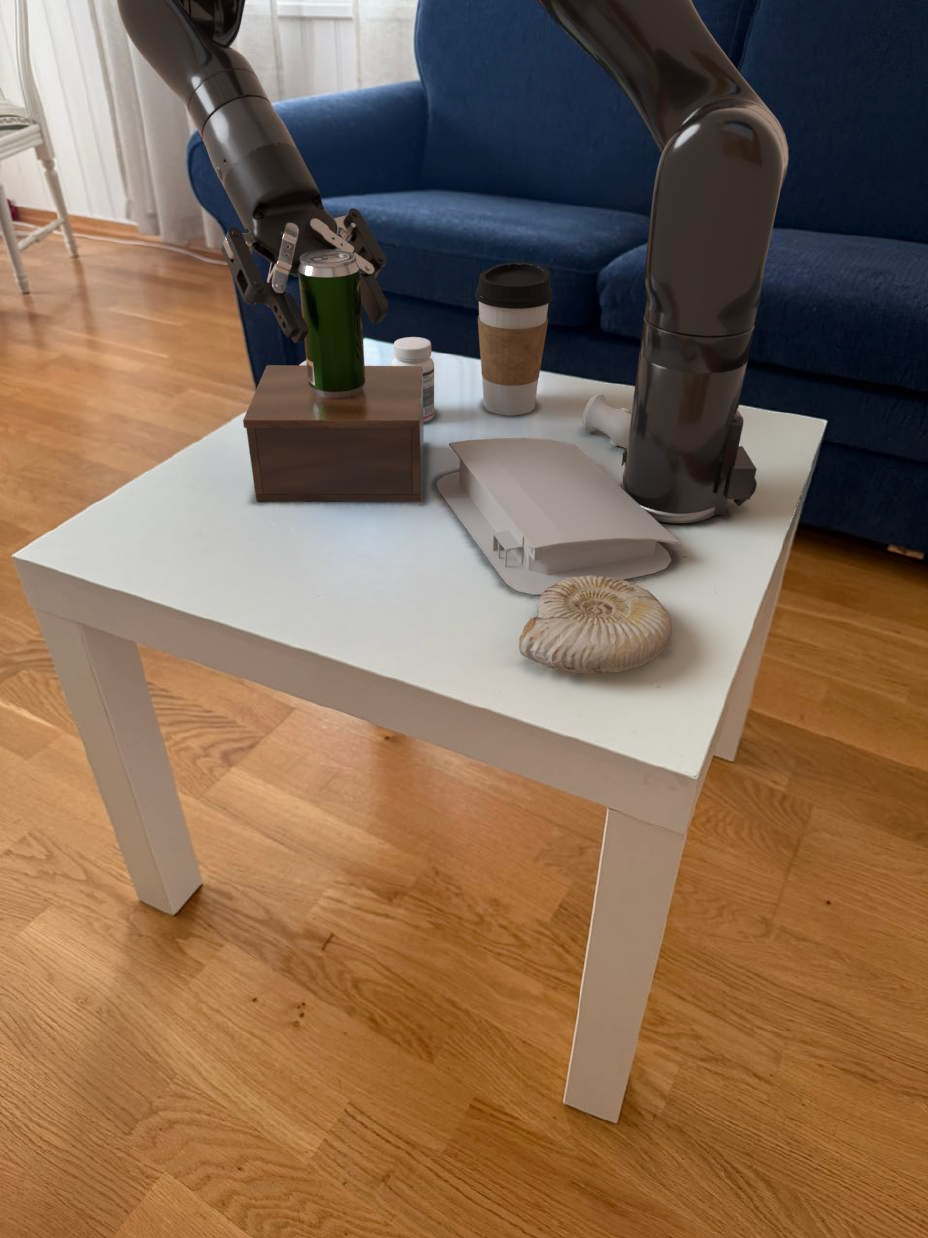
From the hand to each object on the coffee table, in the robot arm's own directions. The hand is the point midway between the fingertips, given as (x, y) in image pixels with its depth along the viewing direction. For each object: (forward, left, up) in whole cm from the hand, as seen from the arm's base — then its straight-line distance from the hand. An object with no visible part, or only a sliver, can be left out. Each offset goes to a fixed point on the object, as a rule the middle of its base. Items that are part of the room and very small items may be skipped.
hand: (342, 327), depth 81 cm
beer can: (+1, -1, -6) cm, 7 cm away
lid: (+1, -1, -7) cm, 7 cm away
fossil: (-21, +27, -15) cm, 37 cm away
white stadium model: (-19, +8, -15) cm, 25 cm away
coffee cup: (-17, -18, -15) cm, 29 cm away
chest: (+1, -1, -15) cm, 15 cm away
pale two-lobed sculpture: (-28, -9, -15) cm, 33 cm away
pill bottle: (-6, -15, -15) cm, 22 cm away
